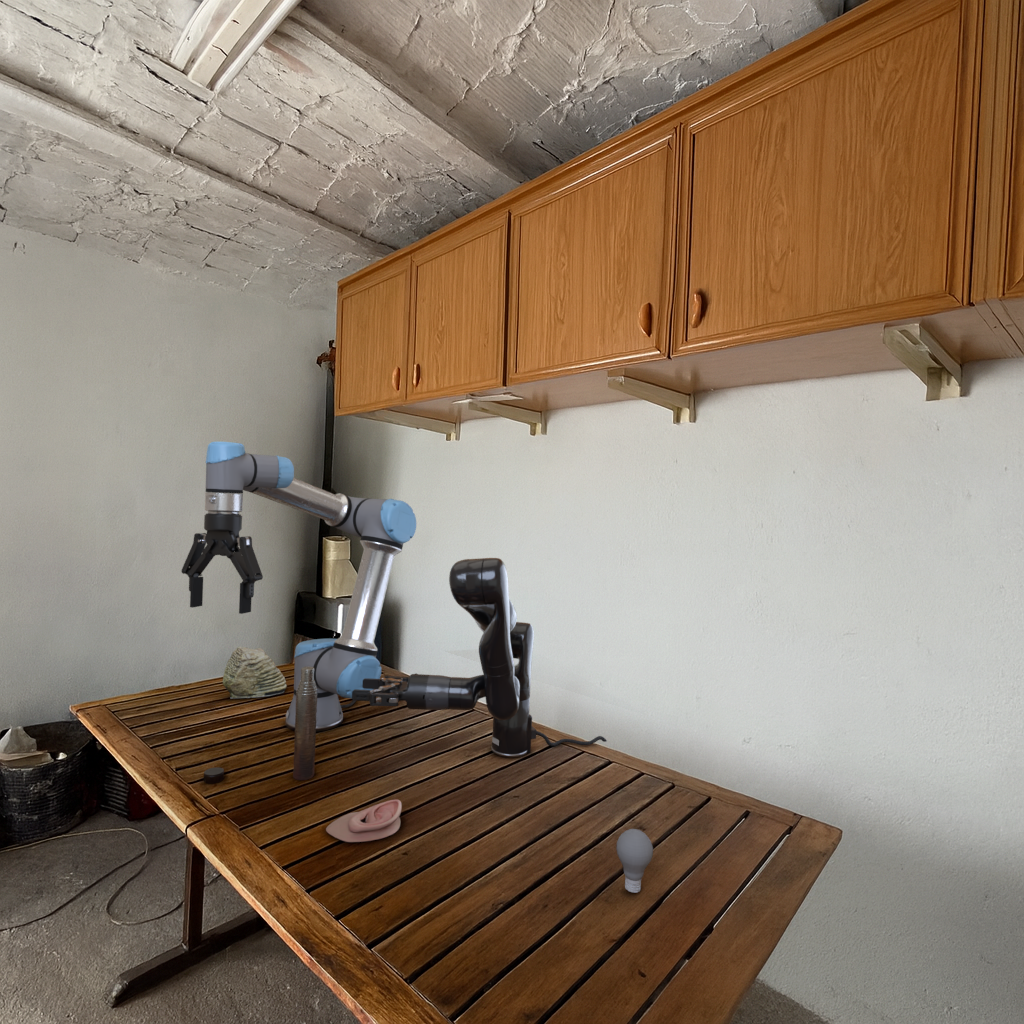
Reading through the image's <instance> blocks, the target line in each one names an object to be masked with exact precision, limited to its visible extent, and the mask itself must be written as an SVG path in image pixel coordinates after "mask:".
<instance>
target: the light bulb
mask: <svg viewBox="0 0 1024 1024" xmlns="http://www.w3.org/2000/svg"><path fill="white" fill-rule="evenodd" d="M615 849H616V854H617V857H618V859H619V861H620V863H621V865H622V867H623V873H624V874H623V875H624V876H625V878H624V888H625V890H627V891H628V892H630V893H634V894H635V893H639V892H640V891H641V889H642V887H641V886H642V879H643V877H644V875H645V871H646V868H647V867H648V866H649V864H650V863H651V861H652V859H653V855H654V847H653V843H652V841H651V838H649V836H648V835H647V834H646V833H645V832H643V831H642V830H641V829H636V828H629V829H627V830H625V831H623V832H622V833H621V834H620V835H619V837H618V839H617V841H616V847H615Z"/></svg>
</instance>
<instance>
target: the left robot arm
mask: <svg viewBox="0 0 1024 1024" xmlns="http://www.w3.org/2000/svg"><path fill="white" fill-rule="evenodd" d="M205 458H206V459H205V494H204V495H205V496H204V510H205V511H206V512H207V513H205V514H204V519H203V530H205V531H206V532H198V533H194V535H193V542H192V545H191V546H190V550H189V552H188V554H187V556H186V558H185V561H184V563H183V566H182V568H181V570H180V571H181V574H183V575H184V574H185V575H187V577H188V591H189V592H190V595H189V608H197V607H203V601H204V600H203V599H204V598H203V597H204V596H203V595H204V576H203V574H202V573H203V572H204V570H206V568H207V567H208V565H209V564H210V563H211V561H212V560H213V559H214V558H215V556H222V557H226V558H227V559H229V560H230V562H231V563H232V565H233V567H234V568H235V570H236V572H237V573H238V575H239V577H240V578H241V580H242V581H241V582H240V583H239V601H238V603H239V605H238V614H239V615H240V614H241V615H243V614H248V613H251V612H252V598H254V595H255V583H256V582H258V581H261V580H263V578H264V576H263V572H262V570H261V567H260V565H259V561H258V559H257V556H256V553H255V550H254V547H253V538H252V536H250V535H249V536H248V535H247V536H240V531H242V529H243V516H242V514H240V513H242V512H243V510H244V509H243V506H244V504H243V503H244V502H243V501H244V491H245V492H248V493H250V494H254V495H257V496H259V497H262V498H264V499H267V500H270V501H273V502H276V503H277V504H281V505H283V506H286V507H289V508H292V509H294V510H297V511H299V512H303V513H305V514H308V515H310V516H313V517H316V518H319V519H322V520H324V522H325V524H326V525H328V526H330V527H333V528H335V529H338V530H340V531H342V532H345V533H346V534H347V533H348V534H349V535H352V536H355V537H357V538H359V539H360V540H359V543H360V544H361V546H362V549H363V551H362V554H361V555H362V556H361V560H360V563H359V568H358V571H357V575H356V579H355V582H354V587H353V591H352V594H351V598H350V603H349V606H348V610H347V614H346V618H345V622H344V625H343V630H342V634H341V636H339V637H338V638H317V639H316V638H315V639H308V640H304V641H300V642H299V643H298V644H297V645H296V646H295V650H294V655H293V658H294V672H293V673H294V674H293V695H292V696H293V697H292V699H291V702H290V704H289V708H288V710H286V713H285V726H286V728H287V729H289V730H291V731H295V716H296V692H297V688H298V686H299V683H300V680H301V669H302V668H303V667H314V680H315V683H316V687H317V715H316V733H317V732H325V731H329V730H332V729H335V728H337V727H339V726H340V725H342V723H343V722H344V714H343V709H347V708H350V707H352V706H353V705H354V704H355V703H356V702H357V701H355V700H352V691H353V690H355V689H357V690H375V689H364V688H363V687H362V686H363V679H365V678H370V679H379V680H380V678H382V666H381V662H380V661H379V660H378V658H377V654H378V647H377V646H376V644H375V638H376V635H377V630H378V626H379V621H380V618H381V613H382V610H383V606H384V602H385V597H386V593H387V589H388V585H389V581H390V578H391V574H392V569H393V564H394V561H395V557H396V556H397V555H398V554H400V553H402V551H403V547H404V544H406V543H408V542H409V541H411V539H412V538H414V536H415V533H416V530H417V516H416V514H415V513H414V510H413V508H412V507H411V506H410V504H408V503H407V502H406V501H404V500H400V499H395V498H372V497H371V498H369V497H356V496H349V495H346V494H344V493H340V492H339V493H335V494H334V493H332V492H331V491H328V490H325V489H322V488H320V487H317V486H315V485H312V484H310V483H307V482H306V481H303V480H301V479H298V478H295V467H294V463H293V462H292V460H291V459H290V458H288V457H285V456H279V455H270V454H257V453H256V454H255V453H248V452H246V448H245V445H244V444H243V443H239V442H233V441H232V442H231V441H211V442H210V443H208V445H207V449H206V457H205ZM339 696H340V697H342V698H344V699H351V700H352V701H350V702H349V703H346V704H341V702H340V699H339Z"/></svg>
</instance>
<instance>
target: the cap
mask: <svg viewBox="0 0 1024 1024" xmlns="http://www.w3.org/2000/svg"><path fill="white" fill-rule="evenodd" d="M224 779H225V769H224V768H223V767H219V766H218V767H216V766H215V767H211V768H207V769H205V770H204V772H203V783H205V784H208V785H212V784H217V783H220V782H222V781H223V780H224Z"/></svg>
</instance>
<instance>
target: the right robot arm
mask: <svg viewBox="0 0 1024 1024" xmlns="http://www.w3.org/2000/svg"><path fill="white" fill-rule="evenodd" d="M448 575H449V576H448V584H449V588H450V592H451V595H452V597H453V599H454V601H455V602H456V603H457V605H458V606H459V607H461V608H462V609H463V610H464V611H466V612H467V613H468V614H469V615H470V617H472V619H473V620H474V621H475V623H476V626H477V627H478V628H479V629H480V630H481V632H482V635H481V637H480V640H479V643H478V657H479V660H480V667H481V671H482V674H479V675H475V676H472V677H465V676H464V677H461V676H460V677H459V676H446V675H442V674H423V673H421V674H420V673H411V674H410V675H409V676H397V675H387V674H386V675H384V676H383V677H380V680H379V679H370V678H365V679H363V686H362V687H363V688H364V689H374V690H357V689H355V690H353V691H352V699H351V700H352V701H353V700H355V701H356V702H369V705H370V707H399V702H403V701H404V702H406V707H407V708H408V709H409V710H422V711H423V710H424V711H425V710H427V711H445V710H446V711H447V710H450V711H451V710H453V711H471V710H473V709H474V708H475V707H476V705H477V703H478V701H479V700H481V699H483V698H485V704H486V708H487V711H488V713H489V714H490V715H491V716H492V738H491V752H492V753H493V754H494V755H496V756H498V757H503V758H510V759H511V758H512V759H514V758H520V757H523V756H526V755H527V754H531V753H532V752H531V751H532V740H536V739H537V736H539V737H541V738H542V739H543V740H544V742H545V743H546V744H547V745H548V746H549V747H557V746H558V745H560V744H564V743H567V744H568V743H569V744H570V743H571V744H574V745H580V746H590V745H593V744H595V743H597V742H598V741H602V742H604V743H607V739H606V738H605V737H604V736H602V735H598V736H595V737H594V738H593V739H591V740H589V741H587V740H586V741H584V740H577V739H573V738H562V739H559V740H557V741H555V742H552V741H551V740H550V739H549V737H548V736H547V735H546V734H545V733H544V732H541V731H538V730H537V729H536V728H535V727H533V715H531V713H530V706H531V705H530V704H531V683H532V682H531V679H532V663H533V652H534V643H535V631H534V626H533V624H532V623H529V622H524V621H523V622H522V621H517V620H518V613H517V611H516V608H515V606H514V604H513V602H512V600H511V599H510V587H509V586H510V585H509V577H508V571H507V567H506V565H505V562H504V561H503V560H502V558H499V557H481V558H479V557H478V558H465V559H461V560H458V561H456V562H454V564H453V565H452V566H451V568H450V571H449V574H448ZM515 659H516V660H518V663H516V664H515V661H514V660H515Z"/></svg>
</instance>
